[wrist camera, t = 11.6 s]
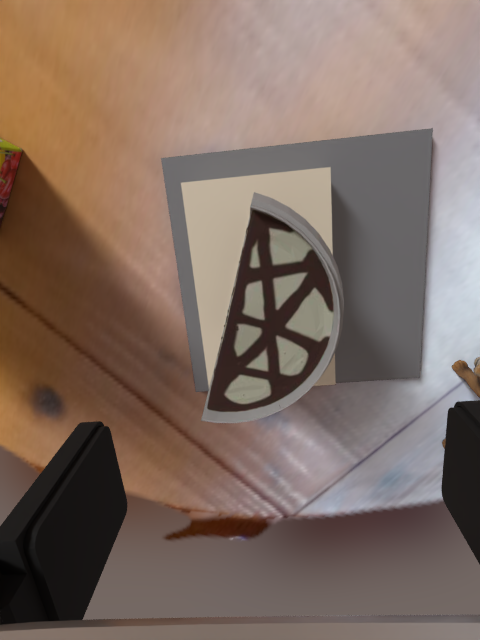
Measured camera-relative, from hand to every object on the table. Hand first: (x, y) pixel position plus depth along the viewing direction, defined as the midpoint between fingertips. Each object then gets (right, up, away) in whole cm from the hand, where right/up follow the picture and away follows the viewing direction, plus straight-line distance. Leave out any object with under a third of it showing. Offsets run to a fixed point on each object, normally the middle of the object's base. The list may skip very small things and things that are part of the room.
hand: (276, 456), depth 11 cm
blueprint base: (+4, +8, +22) cm, 24 cm away
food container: (+2, +6, +18) cm, 19 cm away
